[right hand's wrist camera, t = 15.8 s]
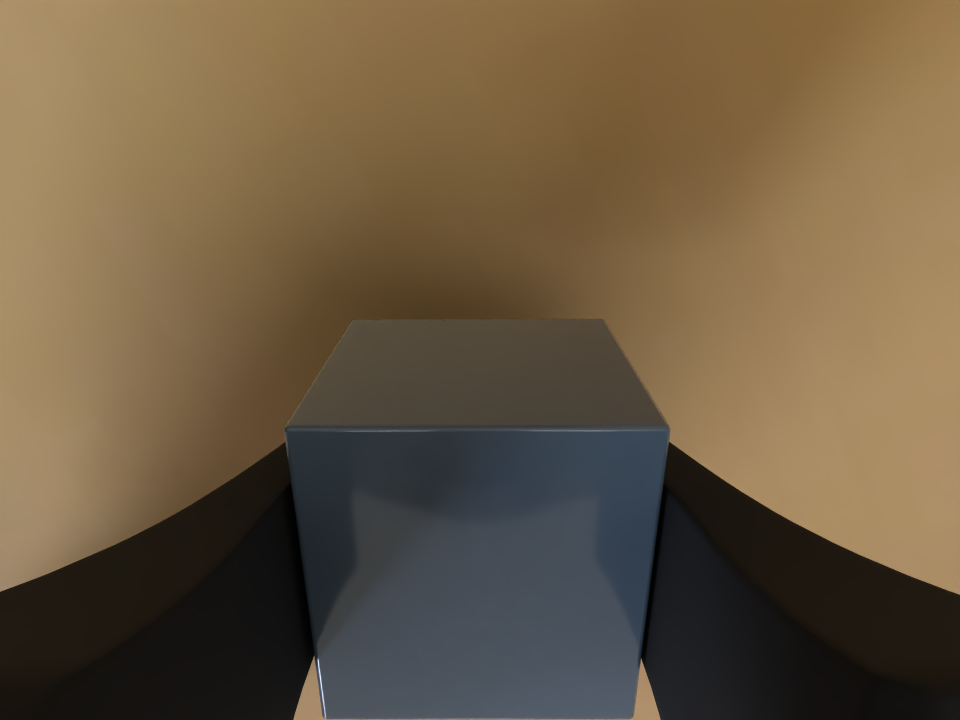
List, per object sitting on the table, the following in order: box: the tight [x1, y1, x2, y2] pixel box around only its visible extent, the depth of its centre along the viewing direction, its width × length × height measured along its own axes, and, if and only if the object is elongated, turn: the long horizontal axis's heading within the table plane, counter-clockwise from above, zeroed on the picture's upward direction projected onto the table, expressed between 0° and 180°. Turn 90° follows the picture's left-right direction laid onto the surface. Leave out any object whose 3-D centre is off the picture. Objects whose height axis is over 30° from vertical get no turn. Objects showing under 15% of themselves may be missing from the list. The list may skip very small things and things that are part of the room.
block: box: [284, 319, 670, 719], centre depth 10 cm, size 5×5×4 cm
